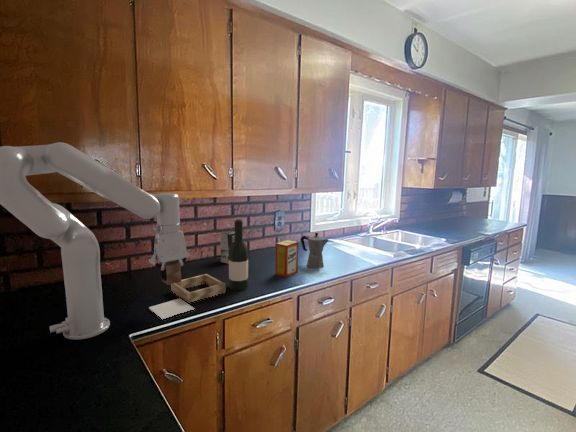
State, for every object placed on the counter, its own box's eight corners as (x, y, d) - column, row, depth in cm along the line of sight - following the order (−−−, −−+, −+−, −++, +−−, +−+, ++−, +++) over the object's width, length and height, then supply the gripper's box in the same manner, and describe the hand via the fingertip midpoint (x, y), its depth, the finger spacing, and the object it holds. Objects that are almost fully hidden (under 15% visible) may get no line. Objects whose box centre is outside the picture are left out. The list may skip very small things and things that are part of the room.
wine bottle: (229, 291, 135) (229, 221, 130) (228, 284, 143) (227, 217, 138) (249, 289, 137) (249, 220, 132) (246, 282, 145) (247, 217, 140)
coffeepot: (329, 264, 173) (331, 232, 170) (324, 269, 165) (326, 235, 162) (302, 260, 179) (304, 229, 176) (296, 265, 171) (297, 232, 168)
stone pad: (162, 320, 109) (162, 319, 108) (148, 308, 117) (148, 307, 117) (194, 310, 117) (194, 308, 117) (180, 299, 125) (179, 298, 125)
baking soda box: (285, 277, 153) (286, 244, 150) (275, 274, 156) (275, 242, 154) (297, 272, 160) (298, 241, 157) (287, 269, 164) (287, 239, 161)
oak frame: (188, 303, 122) (188, 294, 121) (171, 291, 133) (170, 282, 132) (225, 292, 133) (225, 283, 132) (206, 282, 144) (206, 273, 143)
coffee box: (229, 264, 170) (229, 234, 167) (220, 262, 173) (220, 233, 171) (240, 260, 178) (240, 231, 175) (231, 258, 181) (231, 230, 178)
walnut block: (167, 284, 112) (166, 265, 111) (161, 280, 115) (160, 262, 114) (181, 281, 115) (180, 262, 114) (175, 277, 119) (174, 259, 118)
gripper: (148, 233, 103) (151, 287, 107) (196, 226, 115) (198, 275, 118) (139, 229, 109) (143, 280, 112) (186, 223, 120) (188, 269, 124)
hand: (171, 277), depth 115 cm, fingers closed on walnut block, 5 cm apart
